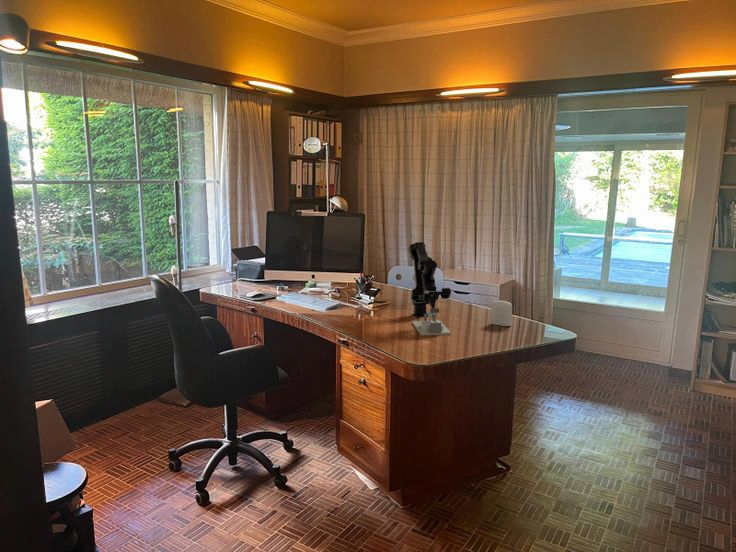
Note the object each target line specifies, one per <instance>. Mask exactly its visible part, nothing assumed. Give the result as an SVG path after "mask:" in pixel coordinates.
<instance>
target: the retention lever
mask: <svg viewBox="0 0 736 552" xmlns="http://www.w3.org/2000/svg"><path fill="white" fill-rule="evenodd" d="M426 314H427V316H426V318H433V316H434V315H435V316H436V314H440V308H439V307H438V308H437V307H436V308H433V309H432V308H430V309H429V312H428V313H426Z"/></svg>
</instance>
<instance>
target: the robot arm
mask: <svg viewBox="0 0 736 552" xmlns="http://www.w3.org/2000/svg"><path fill="white" fill-rule="evenodd" d="M408 253H409V257H410V259H411V261H413V270H414V271H413V272H414V281H415V283H414V284H415V287H414V288H413V289H411V292H410V299H411V304H412V305H413V313H411V315H412V316H414V317H419V318H420V317H424V314H426V315H427V314H428V313H427V305H429V307H430V309H433V308H435V307H436V301H439V298H441V299H445V300H446V299H447V300H448V299H449V298H450V297H451V294H452V290H451V288H450V287H442V288H441V290H437V286H436V280H435V276H434V275H435V273H436V270H437V268H438V264H437V261H435V260H433V258H432V257H430V256H428V252H427V250H426V244H425V242H424V241H420V242H419V241H416V242H414V243H412V244H410V245H409V246H408Z"/></svg>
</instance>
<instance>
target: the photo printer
mask: <svg viewBox="0 0 736 552" xmlns="http://www.w3.org/2000/svg"><path fill="white" fill-rule="evenodd" d="M490 313H491V314H490V324H491V325H494V326H495V325H496V326H501V327H507V326H511V327H512V319H513V318H512V317H513V304H512V303H511V302H509V301H506V300H493V301H492V302H491V312H490Z"/></svg>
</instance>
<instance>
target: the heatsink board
mask: <svg viewBox="0 0 736 552" xmlns="http://www.w3.org/2000/svg"><path fill="white" fill-rule="evenodd" d="M426 314H427V313H426ZM426 314H424V316H423V320H416V321H415V320H413V321H412V325H413V326H414V327H415V329H416V331H417V332H418V333H419V335H420V336H421V335H422V336H441V335H443V336H444V335H445V336H446V335H452V334H451V333H452V332H451V331H450V330H449V329H448V328H447V326H446V325H445V324H444V323H443V321H441V320H440V319H436V314H435V315H434V316H433V317H432V319H428V320H427V317H426V316H427V315H426Z"/></svg>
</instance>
